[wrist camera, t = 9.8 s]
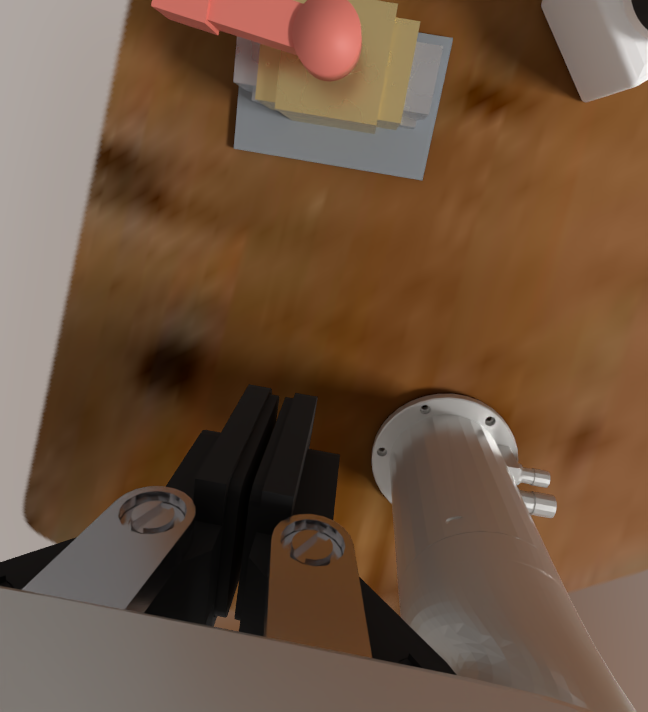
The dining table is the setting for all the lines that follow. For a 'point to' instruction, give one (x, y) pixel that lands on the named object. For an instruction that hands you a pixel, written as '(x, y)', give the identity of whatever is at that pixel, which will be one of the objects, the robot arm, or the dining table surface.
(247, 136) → the mat
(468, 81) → the dining table surface
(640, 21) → the medicine bottle
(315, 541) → the robot arm
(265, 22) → the lever
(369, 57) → the valve
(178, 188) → the dining table surface
